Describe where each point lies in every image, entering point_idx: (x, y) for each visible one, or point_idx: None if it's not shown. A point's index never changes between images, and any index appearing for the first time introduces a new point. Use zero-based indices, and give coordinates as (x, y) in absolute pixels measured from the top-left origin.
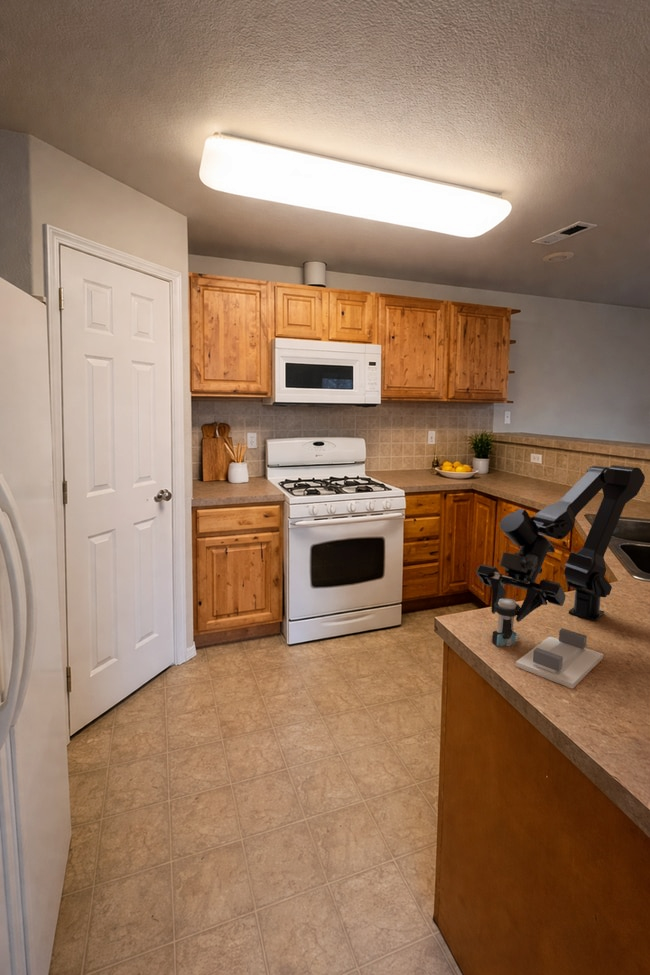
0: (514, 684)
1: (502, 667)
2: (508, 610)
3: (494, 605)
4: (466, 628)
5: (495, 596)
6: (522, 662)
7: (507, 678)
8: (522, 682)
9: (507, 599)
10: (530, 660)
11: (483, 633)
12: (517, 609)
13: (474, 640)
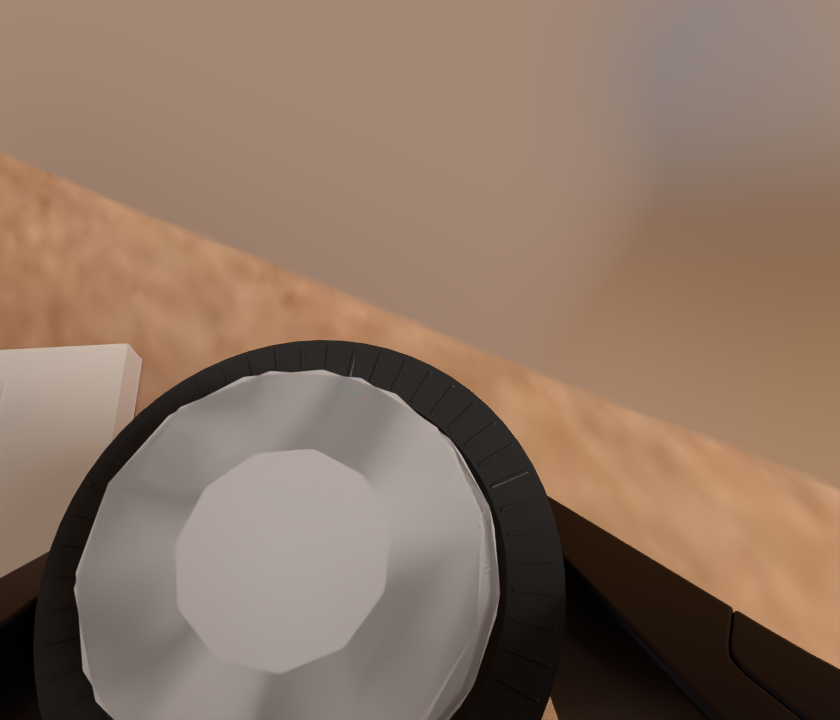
0: (80, 195)
1: (209, 292)
2: (186, 385)
3: (485, 410)
4: (784, 623)
5: (667, 625)
6: (84, 369)
7: (135, 216)
8: (46, 238)
9: (336, 661)
10: (39, 439)
11: None
12: (62, 561)
13: (569, 471)
